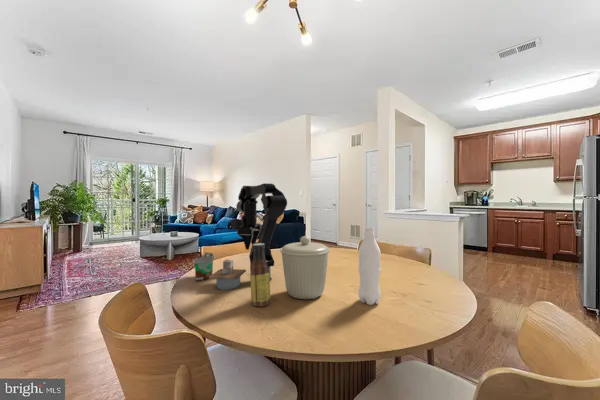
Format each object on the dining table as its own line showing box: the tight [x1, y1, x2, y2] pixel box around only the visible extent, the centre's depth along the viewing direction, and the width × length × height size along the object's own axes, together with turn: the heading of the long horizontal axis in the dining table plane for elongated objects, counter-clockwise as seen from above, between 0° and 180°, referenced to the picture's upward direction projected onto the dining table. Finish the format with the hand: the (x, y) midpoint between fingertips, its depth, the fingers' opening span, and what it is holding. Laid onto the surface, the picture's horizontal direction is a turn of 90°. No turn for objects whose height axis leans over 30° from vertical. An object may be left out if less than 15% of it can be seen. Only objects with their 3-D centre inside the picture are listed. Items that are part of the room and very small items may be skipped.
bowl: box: [215, 276, 241, 291], centre depth 107 cm, size 9×9×4 cm
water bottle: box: [357, 226, 382, 306], centre depth 91 cm, size 7×7×25 cm
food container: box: [193, 252, 215, 283], centre depth 118 cm, size 12×6×10 cm, turn 179°
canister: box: [279, 235, 331, 300], centre depth 98 cm, size 18×18×21 cm
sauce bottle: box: [249, 243, 271, 308], centre depth 89 cm, size 6×6×20 cm
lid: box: [209, 259, 247, 280], centre depth 107 cm, size 11×11×6 cm
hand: (250, 247), depth 124 cm, fingers open, 9 cm apart
